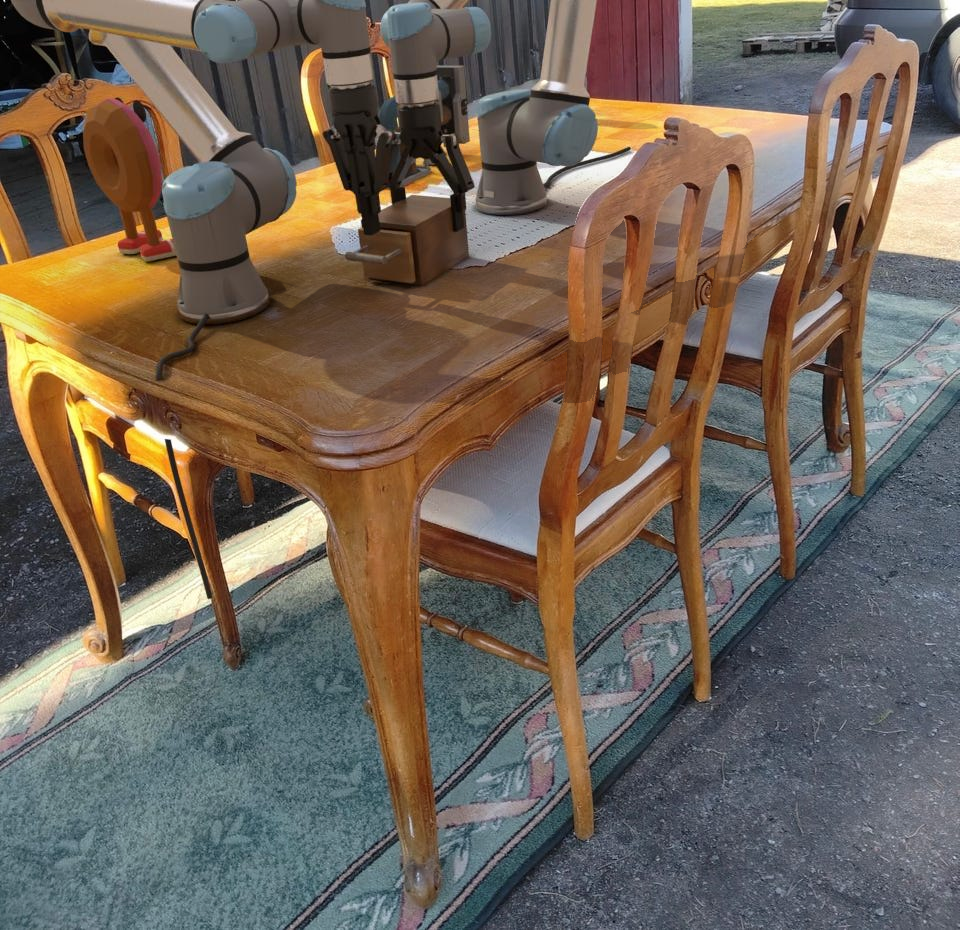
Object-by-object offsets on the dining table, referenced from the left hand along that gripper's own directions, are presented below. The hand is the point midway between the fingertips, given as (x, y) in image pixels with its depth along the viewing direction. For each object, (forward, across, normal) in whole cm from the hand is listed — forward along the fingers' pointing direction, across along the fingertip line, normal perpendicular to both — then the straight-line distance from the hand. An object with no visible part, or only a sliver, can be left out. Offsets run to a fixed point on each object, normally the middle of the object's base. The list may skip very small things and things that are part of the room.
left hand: (372, 232), depth 162 cm
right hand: (+4, 0, -18) cm, 18 cm away
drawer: (+9, 0, -8) cm, 12 cm away
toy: (+10, +59, -3) cm, 60 cm away
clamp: (+10, +40, -74) cm, 85 cm away
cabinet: (+11, 0, -13) cm, 17 cm away
